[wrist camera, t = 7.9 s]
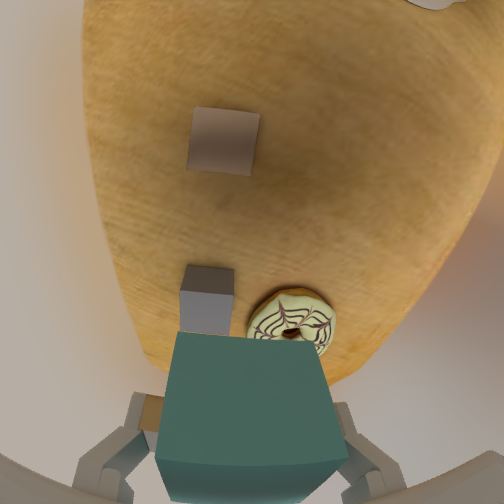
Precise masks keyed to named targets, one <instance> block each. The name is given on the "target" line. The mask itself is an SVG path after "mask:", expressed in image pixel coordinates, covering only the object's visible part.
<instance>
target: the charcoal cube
mask: <svg viewBox="0 0 504 504" xmlns="http://www.w3.org/2000/svg"><path fill="white" fill-rule="evenodd" d="M233 299H234V270H232V269H222V268H211V267H201V266H191V265H187V268H186V271H185V275H184V278H183V282H182V285H181V289H180V331H187V332H196V333H206V334H217V335H229V331H230V323H231V315H232V307H233Z"/></svg>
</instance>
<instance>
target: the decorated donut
mask: <svg viewBox="0 0 504 504" xmlns="http://www.w3.org/2000/svg"><path fill="white" fill-rule="evenodd" d="M335 326H336V314H335V312H334V310H333V309H331V307H330V306H329V305H327V303H326V302H325V301H324V300H323V299H322V298H321V297H320V296H318V295H317V294H316V293H314V292H312V291H310V290H307V289H305V288H298V289H287V290H281V291H278V292H277V293H276V294H274V295H273V296H272V297H270V298H269V299H267V300H266V301H265V302H264V303H262V304H261V305H260V306H259V307H258V308H257V309H256V310H255V311H254V313H253V315H252V317H251V319H250V321H249V324H248V326H247V330H246V338H255V339H273V340H296V341H314V344H315V347H316V350H317V353H318V356H320V355H321V354H323V353H324V352H325V351H326V349H327V348H328V345H329V344H330V343H331V342H332V340H333V336H334V331H335ZM289 328H298V330H297V331H295V332H293V333H291V334H285V333H284V332H283V331H284V330H285V329H289Z"/></svg>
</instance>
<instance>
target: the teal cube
mask: <svg viewBox="0 0 504 504" xmlns="http://www.w3.org/2000/svg"><path fill="white" fill-rule="evenodd" d="M348 459H349V455H348V452H347V448H346V445H345V441H344V438H343V434H342V431H341V428H340V424H339V421H338V417H337V414H336V411H335V408H334V404H333V401H332V398H331V395H330V392H329V388H328V385H327V382H326V378H325V375H324V372H323V369H322V366H321V363H320V359H319V356H318V353H317V350H316V347H315V344H314V341H296V340H273V339H255V338H241V337H228V336H217V335H206V334H197V333H188V332H179V331H178V333H177V338H176V342H175V347H174V352H173V357H172V361H171V366H170V371H169V377H168V382H167V387H166V392H165V397H164V403H163V408H162V414H161V420H160V426H159V432H158V438H157V445H156V451H155V460H156V463H157V466H158V469H159V471H160V474H161V477H162V479H163V482H164V484H165V487H166V489H167V492H168V494H169V497H170V499H171V501H175V502H182V503H191V504H295V503H300V502H301V501H303V500H304V499H305V498H306V497H307V496H309V495H310V494H311V493H312V492H313V491H314V490H316V489H317V488H318V487H319V486H320V485H321V484H322V483H324V482H325V481H326V480H327V479H328V478H329V477H330V476H331V475H332V474H333V473H334V472H335V471H336V470H337V469H338V468H340V467H341V466H342V465H343V464H344V463H345V462H346V461H347V460H348Z"/></svg>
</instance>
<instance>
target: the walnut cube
mask: <svg viewBox="0 0 504 504" xmlns="http://www.w3.org/2000/svg"><path fill="white" fill-rule="evenodd" d="M259 119H260V114H258V113H251V112H244V111H236V110H228V109H219V108H208V107H196V106H194V112H193V119H192V127H191V135H190V143H189V152H188V161H187V169H189V170H199V171H209V172H218V173H226V174H235V175H243V176H250V177H251V170H252V164H253V157H254V151H255V144H256V138H257V132H258V126H259Z"/></svg>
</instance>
